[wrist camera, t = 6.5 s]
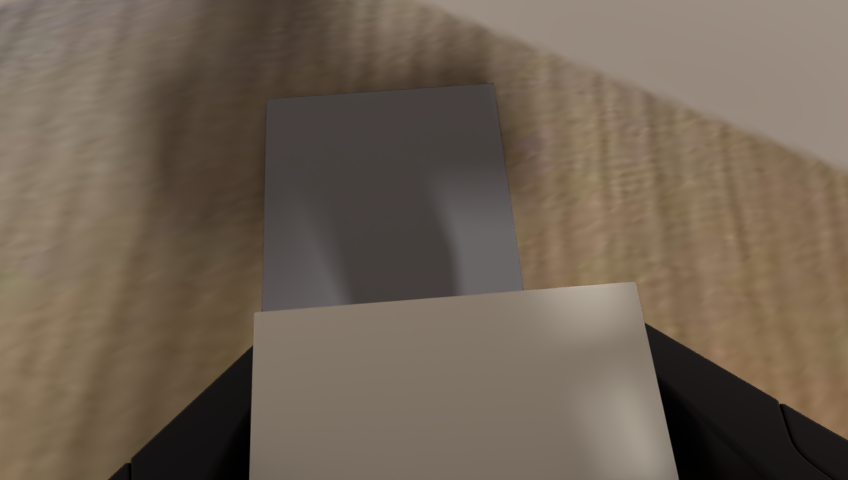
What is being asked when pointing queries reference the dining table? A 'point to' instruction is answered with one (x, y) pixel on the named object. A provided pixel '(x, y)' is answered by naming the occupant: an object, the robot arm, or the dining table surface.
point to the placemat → (386, 198)
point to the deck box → (460, 390)
